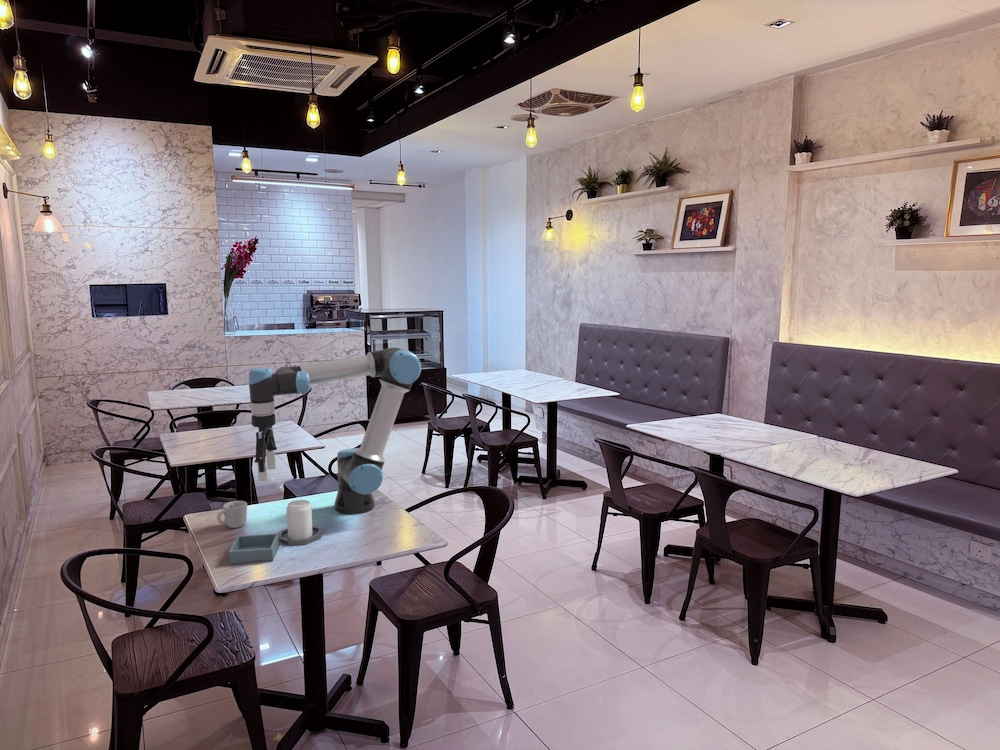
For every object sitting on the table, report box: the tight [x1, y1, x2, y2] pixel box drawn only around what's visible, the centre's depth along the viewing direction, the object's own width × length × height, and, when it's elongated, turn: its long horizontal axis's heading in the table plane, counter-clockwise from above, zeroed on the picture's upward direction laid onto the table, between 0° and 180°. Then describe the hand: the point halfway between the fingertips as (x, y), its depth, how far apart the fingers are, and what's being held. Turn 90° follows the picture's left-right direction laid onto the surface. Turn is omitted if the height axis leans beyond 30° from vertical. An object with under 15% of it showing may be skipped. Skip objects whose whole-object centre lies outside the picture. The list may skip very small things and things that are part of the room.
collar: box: [278, 524, 323, 546], centre depth 228 cm, size 14×14×2 cm
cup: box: [216, 500, 248, 529], centre depth 237 cm, size 11×8×8 cm
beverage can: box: [286, 499, 314, 540], centre depth 228 cm, size 8×8×12 cm
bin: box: [228, 533, 280, 565], centre depth 214 cm, size 13×13×4 cm
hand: (267, 474), depth 228 cm, fingers open, 13 cm apart
